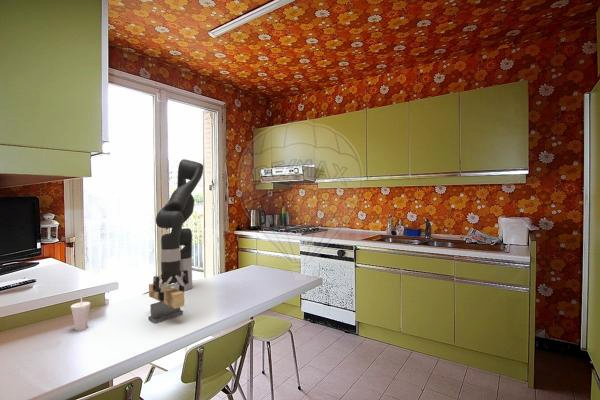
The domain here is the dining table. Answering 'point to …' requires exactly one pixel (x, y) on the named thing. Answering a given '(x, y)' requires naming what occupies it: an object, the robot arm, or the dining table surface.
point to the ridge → (163, 312)
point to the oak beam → (169, 296)
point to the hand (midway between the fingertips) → (171, 297)
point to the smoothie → (80, 314)
